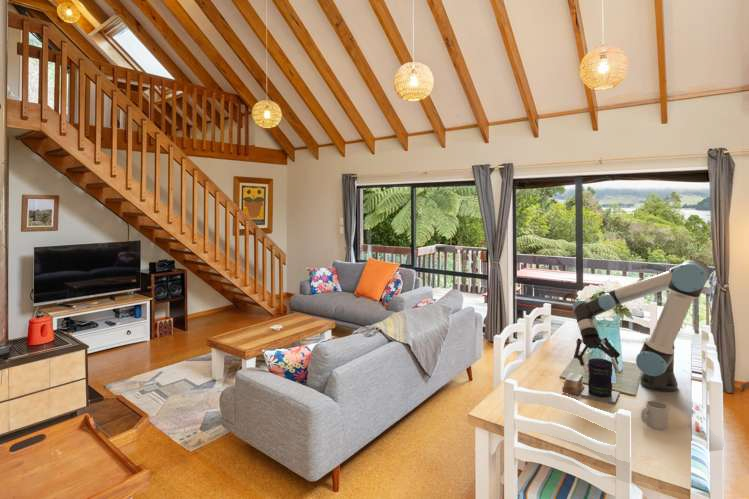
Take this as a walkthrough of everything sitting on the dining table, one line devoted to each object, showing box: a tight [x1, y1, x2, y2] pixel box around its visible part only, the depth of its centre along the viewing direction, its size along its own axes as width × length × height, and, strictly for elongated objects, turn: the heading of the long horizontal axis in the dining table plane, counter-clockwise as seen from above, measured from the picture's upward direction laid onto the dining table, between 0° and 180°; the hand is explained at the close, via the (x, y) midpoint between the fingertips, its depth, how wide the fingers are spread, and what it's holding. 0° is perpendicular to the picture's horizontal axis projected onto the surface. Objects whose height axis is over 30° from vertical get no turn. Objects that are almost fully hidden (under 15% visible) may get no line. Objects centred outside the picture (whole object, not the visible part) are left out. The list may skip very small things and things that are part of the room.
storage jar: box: [587, 357, 613, 398], centre depth 198 cm, size 10×10×15 cm
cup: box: [640, 400, 669, 431], centre depth 170 cm, size 7×10×9 cm
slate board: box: [580, 384, 620, 405], centre depth 199 cm, size 14×12×1 cm
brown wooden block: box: [561, 372, 585, 397], centre depth 205 cm, size 7×12×6 cm, turn 142°
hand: (602, 371), depth 196 cm, fingers open, 13 cm apart
